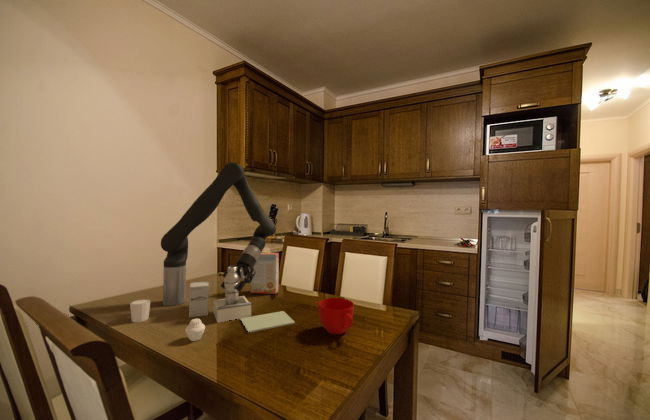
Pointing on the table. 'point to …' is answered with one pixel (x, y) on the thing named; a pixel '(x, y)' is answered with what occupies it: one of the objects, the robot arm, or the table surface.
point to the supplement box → (198, 299)
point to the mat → (266, 321)
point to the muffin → (195, 329)
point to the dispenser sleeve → (231, 310)
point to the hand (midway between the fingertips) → (230, 289)
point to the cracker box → (266, 274)
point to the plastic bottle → (231, 286)
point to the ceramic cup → (336, 314)
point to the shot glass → (140, 310)
